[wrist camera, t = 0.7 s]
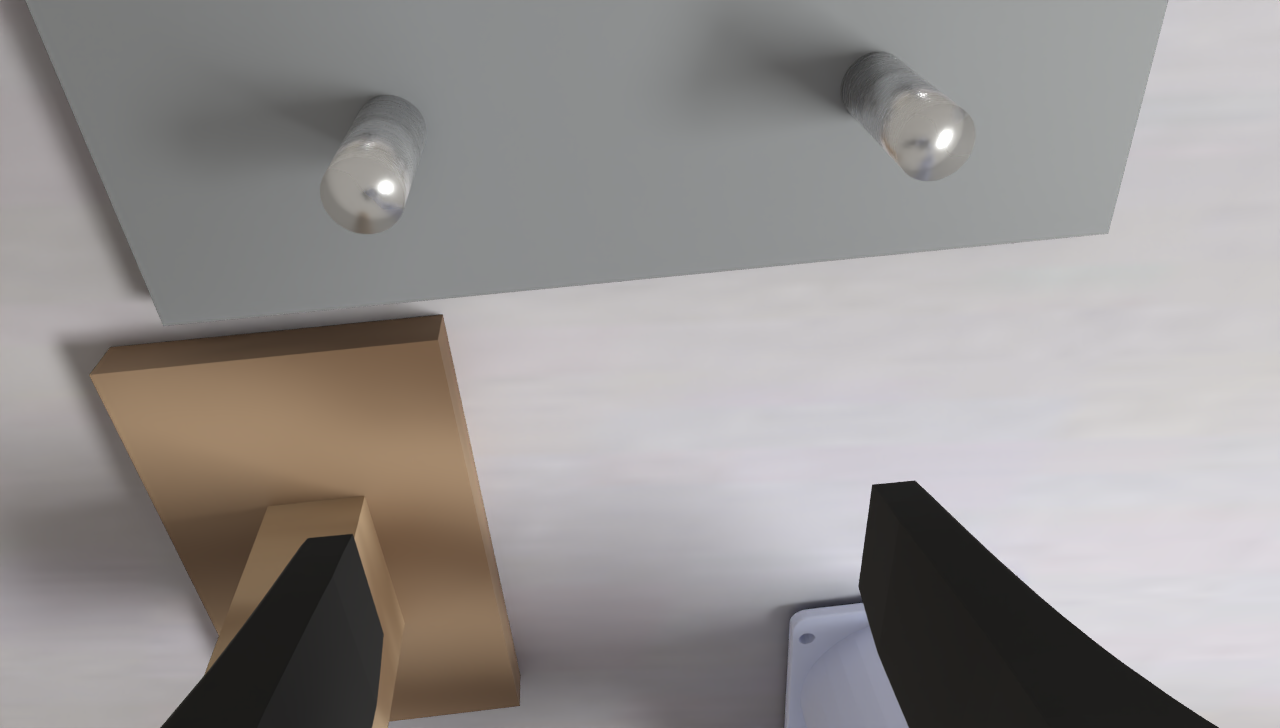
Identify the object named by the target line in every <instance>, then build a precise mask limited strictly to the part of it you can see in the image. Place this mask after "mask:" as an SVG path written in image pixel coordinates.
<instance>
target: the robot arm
mask: <svg viewBox="0 0 1280 728" xmlns="http://www.w3.org/2000/svg"><path fill="white" fill-rule="evenodd" d="M859 590H860V593H861V597H862V601H863V603H857V604H848V605H840V606H831V607H822V608H814V609H805V610H801V611H799V612H797V613H795V614H794V615H793V616H792V617H791V620H790V627H789V647H788V667H787V686H786V706H785V726H784V728H1219V727H1217V726H1215V725H1214V724H1212V723H1210V722H1209V721H1207V720H1206V719H1204V718H1202V717H1201V716H1199V715H1198V714H1196V713H1195V712H1193V711H1192V710H1190V709H1189V708H1187V707H1186V706H1184V705H1183V704H1181V703H1180V702H1178V701H1177V700H1175V699H1174V698H1172V697H1171V696H1169V695H1168V694H1166V693H1165V692H1164V691H1162V690H1161V689H1159V688H1158V687H1156V686H1155V685H1154V684H1152V683H1151V682H1149V681H1148V680H1146V679H1145V678H1144V677H1142V676H1141V675H1139V674H1138V673H1137V672H1135V671H1134V670H1132V669H1131V668H1129V667H1128V666H1127V665H1125V664H1124V663H1122V662H1121V661H1120V660H1118V659H1117V658H1116V657H1114V656H1113V655H1112V654H1110V653H1109V652H1108V651H1106V650H1105V649H1104V648H1102V647H1101V646H1100V645H1098V644H1097V643H1096V642H1095V641H1093V640H1092V639H1091V638H1090V637H1088V636H1087V635H1086V634H1085V633H1083V632H1082V631H1081V630H1080V629H1078V628H1077V627H1076V626H1075V625H1073V624H1072V623H1071V622H1070V621H1068V620H1067V619H1066V618H1065V617H1063V616H1062V615H1061V614H1060V613H1059V612H1057V611H1056V610H1055V609H1054V608H1053V607H1052V606H1050V605H1049V604H1048V603H1047V602H1046V601H1044V600H1043V599H1042V598H1041V597H1040V596H1039V595H1038V594H1036V593H1035V592H1034V591H1033V590H1032V589H1031V588H1030V587H1028V586H1027V585H1026V584H1025V583H1024V582H1023V581H1022V580H1021V579H1019V578H1018V577H1017V576H1016V575H1015V574H1014V573H1013V572H1012V571H1010V570H1009V569H1008V568H1007V567H1006V566H1005V565H1004V564H1003V563H1002V562H1000V561H999V560H998V559H997V558H996V557H995V556H994V555H993V554H992V553H991V552H990V551H988V550H987V549H986V548H985V547H984V546H983V545H982V544H981V543H980V542H979V541H978V540H977V539H976V538H975V537H974V536H973V535H972V534H970V533H969V532H968V531H967V530H966V529H965V528H964V527H963V526H962V525H961V524H960V523H959V522H958V521H957V520H956V519H955V518H954V517H953V516H952V515H951V514H950V513H949V512H947V511H946V510H945V509H944V508H943V507H942V506H941V505H940V504H939V503H938V502H937V501H936V500H935V499H934V498H933V497H932V496H931V495H930V494H929V493H928V492H927V491H926V490H924V489H923V488H922V487H921V486H920V485H919V484H918V483H917V482H916V481H907V482H896V483H886V484H875V485H872V491H871V498H870V505H869V513H868V520H867V528H866V535H865V542H864V550H863V557H862V565H861V572H860V579H859ZM383 638H384V633H383V630H382V627H381V623H380V620H379V617H378V614H377V610H376V607H375V604H374V601H373V597H372V594H371V591H370V588H369V584H368V581H367V578H366V575H365V571H364V568H363V565H362V562H361V558H360V555H359V552H358V549H357V545H356V542H355V539H354V536H353V534H345V535H334V536H324V537H313V538H307V539H306V541H305V542H304V543H303V544H302V545H301V546H300V548H299V549H298V550H297V552H296V553H295V555H294V556H293V557H292V559H291V560H290V561H289V563H288V564H287V566H286V567H285V568H284V570H283V571H282V573H281V574H280V575H279V577H278V578H277V580H276V581H275V582H274V584H273V585H272V587H271V588H270V589H269V591H268V592H267V594H266V595H265V596H264V598H263V599H262V600H261V602H260V603H259V604H258V606H257V607H256V609H255V610H254V611H253V613H252V614H251V615H250V617H249V618H248V619H247V621H246V622H245V623H244V625H243V626H242V627H241V629H240V630H239V631H238V633H237V634H236V635H235V637H234V638H233V639H232V640H231V642H230V643H229V644H228V646H227V647H226V648H225V649H224V651H223V652H222V653H221V655H220V656H219V657H218V659H217V660H216V661H215V662H214V664H213V665H212V666H211V668H210V669H209V670H208V671H207V673H206V674H205V675H204V676H203V678H202V679H201V680H200V681H199V683H198V684H197V685H196V686H195V687H194V689H193V690H192V691H191V692H190V693H189V695H188V696H187V697H186V698H185V699H184V700H183V702H182V703H181V704H180V705H179V706H178V708H177V709H176V710H175V711H174V712H173V714H172V715H171V716H170V717H169V718H168V719H167V721H166V722H165V723H164V724H163V725H162V727H161V728H372V726H373V721H374V716H375V711H376V707H377V698H378V689H379V680H380V671H381V660H382V649H383Z"/></svg>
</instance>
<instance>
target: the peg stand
mask: <svg viewBox="0 0 1280 728" xmlns="http://www.w3.org/2000/svg"><path fill="white" fill-rule="evenodd" d="M25 1H26V4H27V6H28V8H29V11H30V13H31V15H32V18H33V20H34V22H35V25H36V27H37V29H38V32H39V34H40V36H41V39H42V41H43V44H44V46H45V48H46V51H47V53H48V55H49V58H50V60H51V62H52V65H53V67H54V69H55V72H56V74H57V77H58V79H59V81H60V84H61V86H62V88H63V91H64V93H65V95H66V98H67V100H68V102H69V105H70V107H71V109H72V112H73V114H74V117H75V119H76V121H77V124H78V126H79V128H80V131H81V133H82V135H83V138H84V140H85V142H86V145H87V147H88V150H89V152H90V154H91V157H92V159H93V161H94V164H95V166H96V168H97V171H98V173H99V175H100V178H101V180H102V182H103V185H104V187H105V190H106V192H107V194H108V197H109V199H110V201H111V204H112V206H113V208H114V211H115V213H116V215H117V218H118V220H119V222H120V225H121V227H122V230H123V232H124V234H125V237H126V239H127V241H128V244H129V246H130V248H131V251H132V253H133V255H134V258H135V260H136V263H137V265H138V267H139V270H140V272H141V274H142V277H143V279H144V281H145V284H146V286H147V288H148V291H149V293H150V295H151V298H152V300H153V303H154V305H155V307H156V310H157V312H158V314H159V317H160V319H161V321H162V324H163V326H170V325H180V324H191V323H201V322H211V321H221V320H231V319H242V318H252V317H262V316H272V315H283V314H293V313H303V312H313V311H323V310H334V309H344V308H354V307H364V306H374V305H385V304H395V303H405V302H415V301H425V300H436V299H446V298H456V297H466V296H476V295H487V294H497V293H507V292H517V291H527V290H538V289H548V288H558V287H568V286H578V285H589V284H599V283H609V282H619V281H629V280H640V279H650V278H660V277H670V276H681V275H691V274H701V273H711V272H721V271H732V270H742V269H752V268H762V267H772V266H783V265H793V264H803V263H813V262H823V261H834V260H844V259H854V258H864V257H874V256H885V255H895V254H905V253H915V252H925V251H936V250H946V249H956V248H966V247H976V246H987V245H997V244H1007V243H1017V242H1027V241H1038V240H1048V239H1058V238H1068V237H1079V236H1089V235H1099V234H1108V232H1109V228H1110V224H1111V220H1112V216H1113V213H1114V209H1115V205H1116V201H1117V197H1118V193H1119V189H1120V185H1121V182H1122V178H1123V174H1124V170H1125V166H1126V162H1127V158H1128V154H1129V151H1130V147H1131V143H1132V139H1133V135H1134V131H1135V127H1136V123H1137V120H1138V116H1139V112H1140V108H1141V104H1142V100H1143V96H1144V93H1145V89H1146V85H1147V81H1148V77H1149V73H1150V69H1151V65H1152V62H1153V58H1154V54H1155V50H1156V46H1157V42H1158V38H1159V34H1160V31H1161V27H1162V23H1163V19H1164V15H1165V11H1166V7H1167V3H1168V0H25Z"/></svg>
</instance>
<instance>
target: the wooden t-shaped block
mask: <svg viewBox="0 0 1280 728" xmlns="http://www.w3.org/2000/svg"><path fill="white" fill-rule="evenodd" d="M89 376H90V378H91V380H92V382H93V384H94V386H95V388H96V390H97V392H98V394H99V396H100V398H101V400H102V402H103V404H104V406H105V408H106V410H107V412H108V414H109V416H110V418H111V420H112V422H113V424H114V426H115V428H116V430H117V432H118V434H119V436H120V438H121V440H122V442H123V444H124V446H125V448H126V450H127V452H128V454H129V456H130V458H131V460H132V462H133V464H134V466H135V468H136V470H137V472H138V474H139V476H140V478H141V480H142V482H143V484H144V486H145V488H146V490H147V492H148V494H149V496H150V498H151V500H152V502H153V504H154V506H155V508H156V510H157V512H158V514H159V516H160V518H161V520H162V522H163V524H164V526H165V528H166V530H167V532H168V534H169V536H170V538H171V540H172V542H173V544H174V546H175V548H176V550H177V552H178V555H179V557H180V559H181V561H182V563H183V565H184V567H185V569H186V571H187V573H188V575H189V577H190V579H191V581H192V583H193V585H194V587H195V589H196V591H197V593H198V595H199V597H200V599H201V601H202V603H203V605H204V607H205V609H206V611H207V613H208V615H209V617H210V619H211V621H212V623H213V625H214V627H215V629H216V631H217V633H218V635H219V637H218V640H217V643H216V645H215V648H214V651H213V653H212V656H211V659H210V661H209V664H208V667H207V669H206V672H205V674H206V673H207V671H208V670H209V669H210V668H211V666H212V665H213V664H214V662H215V661H216V660H217V659H218V657H219V656H220V655H221V653H222V652H223V651H224V649H225V648H226V647H227V646H228V644H229V643H230V642H231V640H232V639H233V638H234V637H235V635H236V634H237V633H238V631H239V630H240V629H241V627H242V626H243V625H244V623H245V622H246V621H247V619H248V618H249V617H250V615H251V614H252V613H253V611H254V610H255V609H256V607H257V606H258V604H259V603H260V602H261V600H262V599H263V598H264V596H265V595H266V594H267V592H268V591H269V589H270V588H271V587H272V585H273V584H274V582H275V581H276V580H277V578H278V577H279V575H280V574H281V573H282V571H283V570H284V568H285V567H286V566H287V564H288V563H289V561H290V560H291V559H292V557H293V556H294V555H295V553H296V552H297V550H298V549H299V548H300V546H301V545H302V544H303V543H304V542H305V541H306V539H307V538H313V537H324V536H334V535H345V534H353V536H354V539H355V542H356V545H357V549H358V552H359V555H360V558H361V562H362V565H363V568H364V571H365V575H366V578H367V581H368V584H369V588H370V591H371V594H372V597H373V601H374V604H375V607H376V610H377V614H378V617H379V620H380V623H381V627H382V630H383V633H384V638H383V649H382V660H381V671H380V680H379V689H378V698H377V707H376V711H375V716H374V721H373V726H372V728H388V724H389V721H397V720H405V719H414V718H422V717H431V716H439V715H447V714H456V713H464V712H473V711H481V710H489V709H498V708H506V707H515V706H520V671H519V667H518V662H517V657H516V653H515V648H514V644H513V639H512V634H511V630H510V625H509V620H508V616H507V611H506V606H505V602H504V597H503V592H502V588H501V583H500V578H499V574H498V569H497V565H496V560H495V555H494V551H493V546H492V541H491V537H490V532H489V527H488V523H487V518H486V513H485V509H484V504H483V500H482V495H481V490H480V486H479V481H478V476H477V472H476V467H475V462H474V458H473V453H472V448H471V444H470V439H469V434H468V430H467V425H466V421H465V416H464V411H463V407H462V402H461V397H460V393H459V388H458V383H457V379H456V374H455V369H454V365H453V360H452V356H451V351H450V346H449V342H448V337H447V332H446V328H445V323H444V318H443V315H433V316H423V317H413V318H403V319H393V320H383V321H372V322H362V323H352V324H342V325H332V326H322V327H311V328H301V329H291V330H281V331H271V332H261V333H250V334H240V335H230V336H220V337H210V338H200V339H189V340H179V341H169V342H159V343H149V344H138V345H128V346H118V347H110V348H109V350H108V351H107V352H106V353H105V355H104V356H103V357H102V359H101V360H100V361H99V363H98V364H97V365H96V367H95V368H94V369H93V371H92V372H91V373H90V374H89Z"/></svg>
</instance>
